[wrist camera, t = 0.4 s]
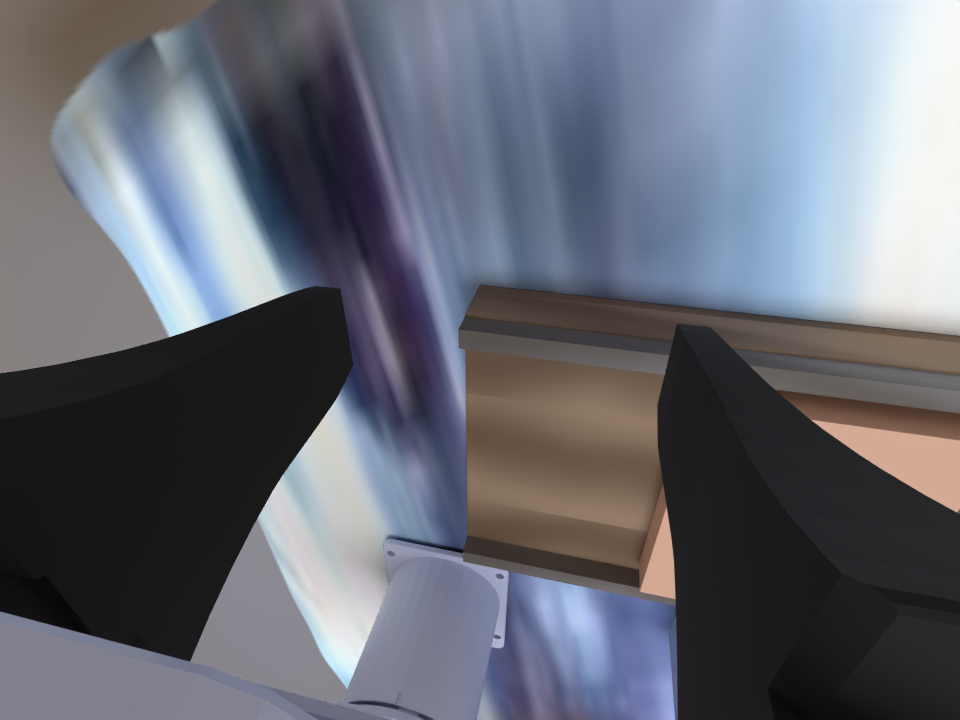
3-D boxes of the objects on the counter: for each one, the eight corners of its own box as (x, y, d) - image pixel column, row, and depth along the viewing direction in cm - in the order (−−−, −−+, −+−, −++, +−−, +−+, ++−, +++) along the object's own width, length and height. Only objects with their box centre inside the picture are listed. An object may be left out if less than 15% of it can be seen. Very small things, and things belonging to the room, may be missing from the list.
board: (870, 583, 26) (901, 653, 23) (478, 509, 29) (463, 562, 26) (1046, 345, 18) (1126, 409, 15) (480, 285, 21) (458, 327, 19)
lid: (845, 603, 23) (857, 636, 22) (639, 563, 25) (639, 591, 24) (981, 416, 17) (1008, 447, 16) (693, 378, 19) (698, 404, 17)
